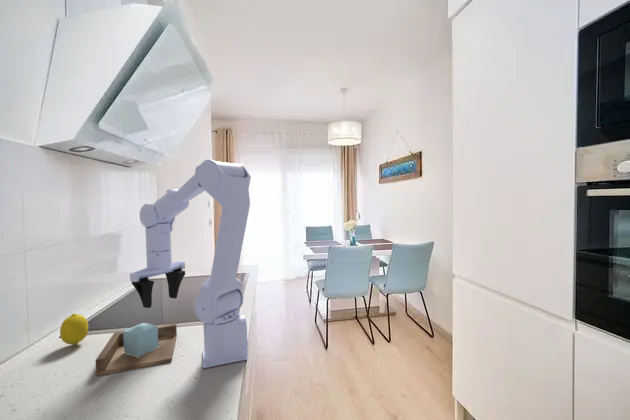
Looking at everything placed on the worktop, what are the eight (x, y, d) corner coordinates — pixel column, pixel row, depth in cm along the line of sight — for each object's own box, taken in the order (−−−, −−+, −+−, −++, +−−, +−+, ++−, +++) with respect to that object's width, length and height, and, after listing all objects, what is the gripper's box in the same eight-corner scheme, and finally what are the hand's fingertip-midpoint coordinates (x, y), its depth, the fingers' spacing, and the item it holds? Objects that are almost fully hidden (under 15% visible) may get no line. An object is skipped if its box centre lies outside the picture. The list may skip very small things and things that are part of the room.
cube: (144, 342, 74) (143, 322, 73) (158, 346, 72) (157, 325, 71) (124, 352, 69) (123, 330, 69) (138, 356, 67) (137, 334, 67)
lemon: (59, 346, 75) (57, 314, 74) (86, 338, 79) (85, 308, 78) (62, 353, 71) (61, 320, 71) (91, 344, 75) (89, 313, 75)
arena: (176, 335, 79) (176, 323, 79) (171, 361, 66) (170, 347, 66) (115, 345, 74) (114, 332, 74) (96, 375, 61) (95, 360, 61)
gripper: (171, 245, 86) (173, 292, 86) (120, 254, 72) (123, 309, 73) (189, 246, 83) (191, 295, 83) (140, 256, 69) (142, 313, 70)
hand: (160, 302), depth 78 cm, fingers open, 7 cm apart
